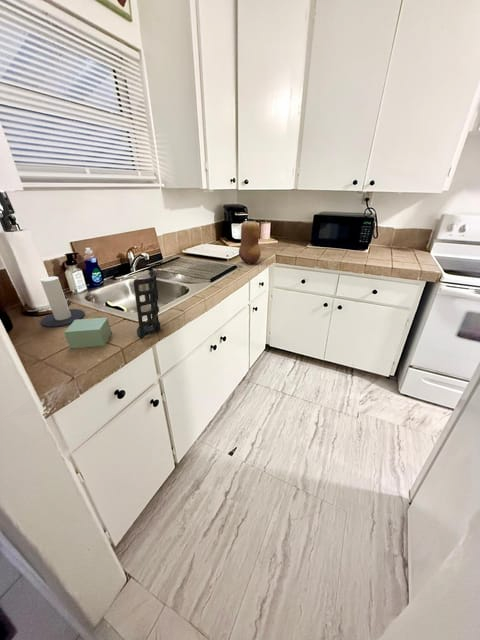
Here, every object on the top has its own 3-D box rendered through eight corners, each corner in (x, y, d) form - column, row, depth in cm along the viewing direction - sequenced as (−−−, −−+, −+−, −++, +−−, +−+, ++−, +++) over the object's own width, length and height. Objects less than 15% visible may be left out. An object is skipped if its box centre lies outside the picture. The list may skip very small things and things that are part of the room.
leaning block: (70, 348, 80) (64, 332, 77) (80, 335, 87) (74, 319, 84) (104, 346, 81) (99, 329, 78) (111, 333, 88) (107, 317, 85)
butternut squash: (264, 262, 165) (266, 221, 153) (251, 267, 156) (252, 223, 144) (247, 259, 173) (248, 219, 161) (234, 263, 164) (233, 221, 152)
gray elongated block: (58, 323, 98) (33, 311, 85) (61, 289, 102) (38, 272, 89) (72, 322, 99) (50, 310, 85) (75, 288, 103) (55, 271, 89)
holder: (141, 321, 94) (137, 268, 85) (163, 322, 95) (160, 270, 86) (133, 338, 85) (127, 280, 75) (157, 339, 86) (153, 282, 76)
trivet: (33, 329, 91) (32, 327, 90) (52, 311, 103) (52, 310, 103) (76, 326, 92) (75, 324, 92) (90, 309, 105) (89, 307, 104)
